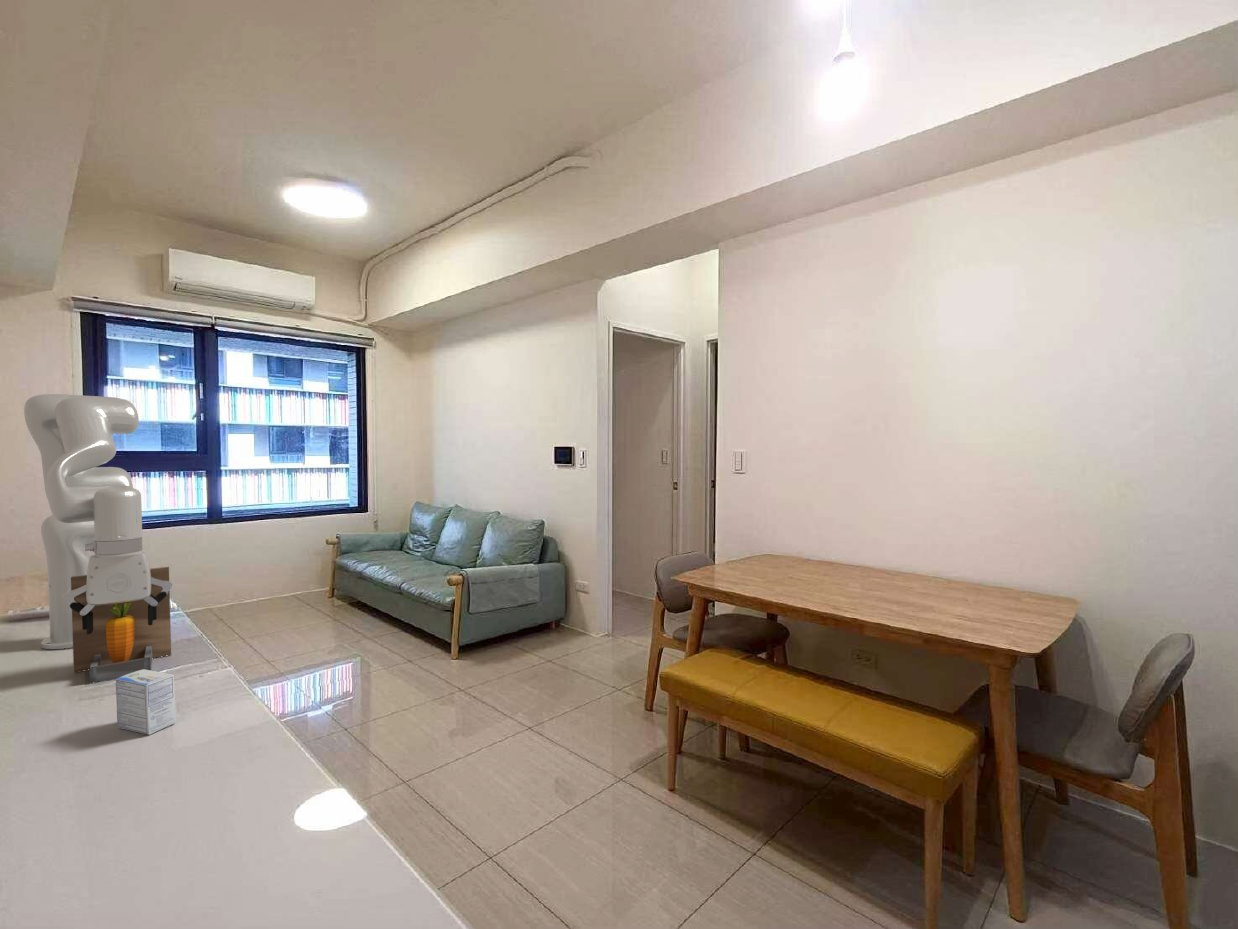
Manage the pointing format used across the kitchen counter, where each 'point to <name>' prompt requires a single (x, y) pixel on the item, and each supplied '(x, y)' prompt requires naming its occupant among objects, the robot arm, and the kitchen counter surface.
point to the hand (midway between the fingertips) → (121, 628)
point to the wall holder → (147, 638)
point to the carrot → (120, 633)
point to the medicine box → (145, 701)
